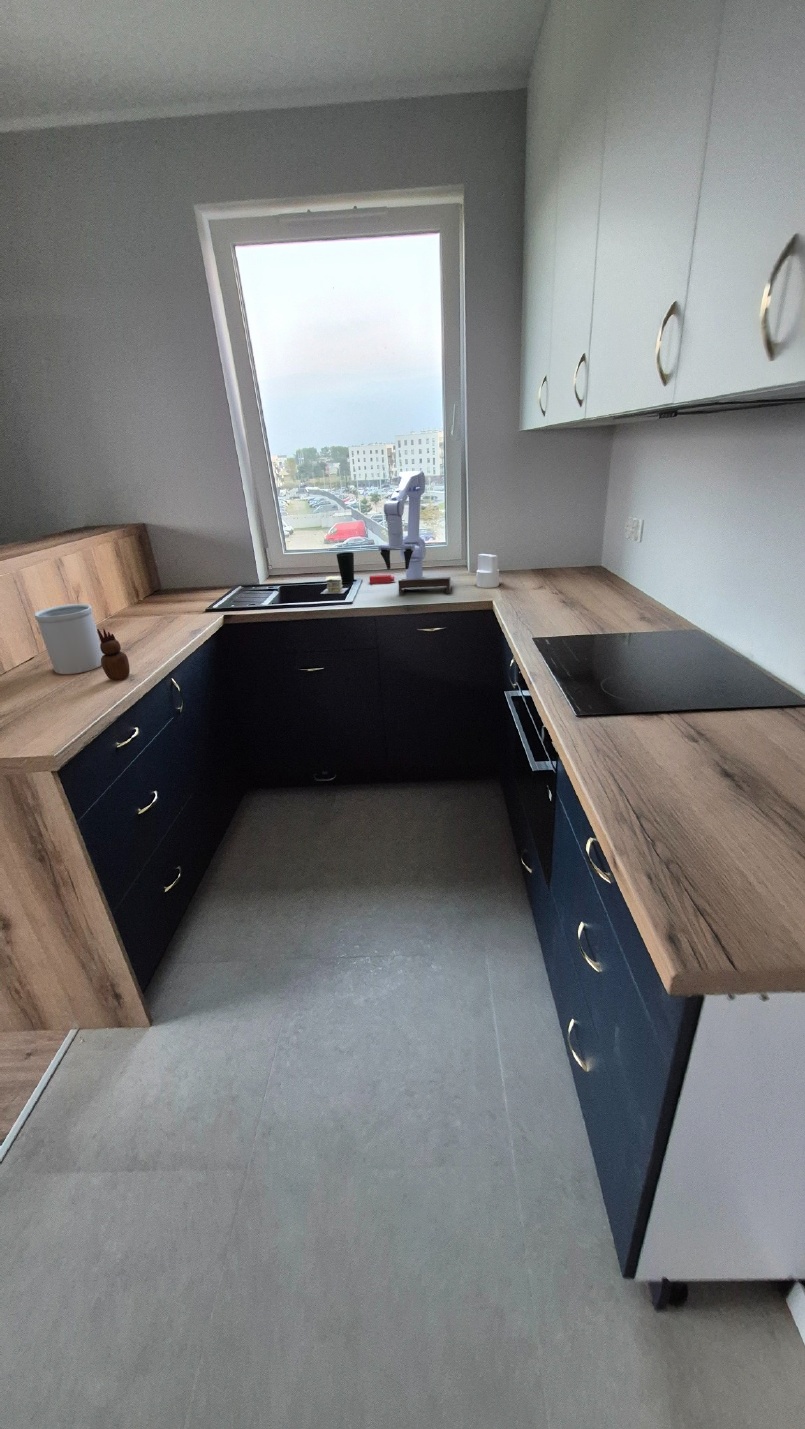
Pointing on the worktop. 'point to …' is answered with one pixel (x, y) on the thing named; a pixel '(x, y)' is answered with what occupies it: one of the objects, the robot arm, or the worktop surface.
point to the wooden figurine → (113, 658)
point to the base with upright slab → (487, 571)
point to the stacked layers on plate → (334, 586)
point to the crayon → (381, 579)
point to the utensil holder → (70, 638)
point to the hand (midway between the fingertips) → (398, 568)
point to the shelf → (424, 583)
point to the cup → (346, 566)
